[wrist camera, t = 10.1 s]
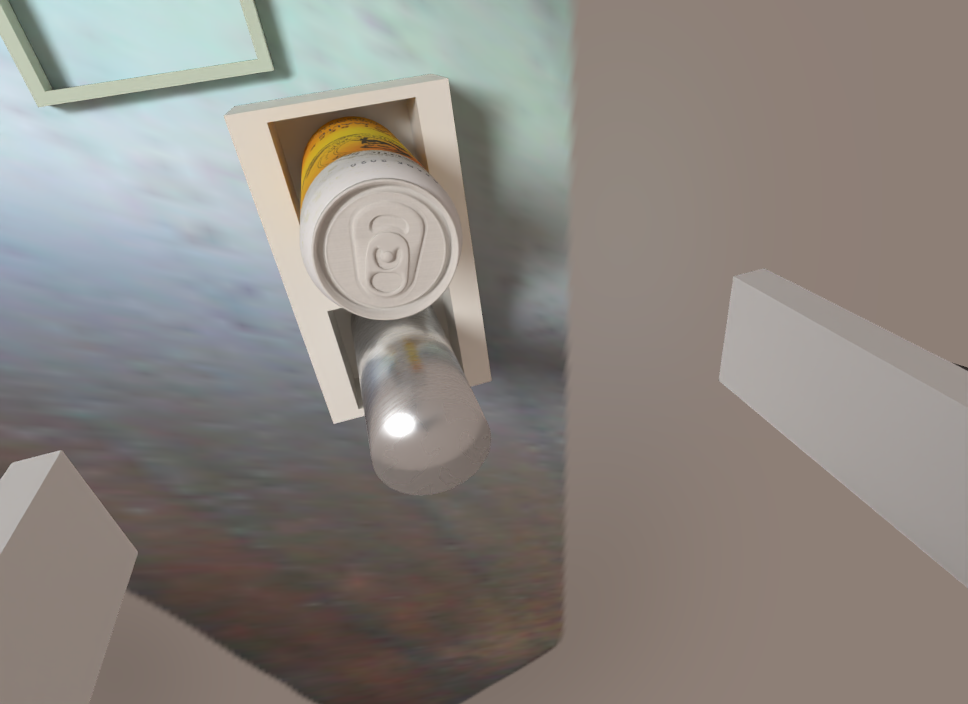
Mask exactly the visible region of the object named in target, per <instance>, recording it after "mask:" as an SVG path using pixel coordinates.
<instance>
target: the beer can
mask: <svg viewBox="0 0 968 704" xmlns="http://www.w3.org/2000/svg"><path fill="white" fill-rule="evenodd" d="M300 250H301V256H302V259H303V263H304V266H305V268H306V270H307V273H308V274H309V276H310V278H311V280H312V281H313V283H314V284H315V285H316V287H317V288H318V289H319V290H320V291H321V292H322V293H323V294H324V295H325V296H326V297H327V298H328V299H330V300H331V301H332V302H334V303H335V304H337V305H338V306H340V307H342V308H344V309H346V310H348V311H349V312H351V313H353V314H356V315H358V316H361V317H365V318H368V319H374V320H396V319H402V318H405V317H409V316H412V315H414V314H417V313H419V312H421V311H423V310H424V309H426V308H427V307H429V306H430V305H432V304H433V303H434V302H435V301H436V300H437V299H438V298H439V297H440V296H441V295H442V294H443V293H444V292H445V290H446V289H447V288H448V286H449V284H450V283H451V281H452V279H453V277H454V274H455V271H456V269H457V266H458V263H459V260H460V256H461V251H462V227H461V222H460V218H459V215H458V212H457V209H456V207H455V205H454V203H453V201H452V200H451V198H450V197H449V195H448V194H447V192H446V191H445V190H444V189H443V188H442V186H441V185H440V184H439V183H438V182H437V181H436V180H435V179H434V178H433V177H432V176H431V175H430V173H429V172H428V171H427V170H426V169H425V168H424V167H423V166H422V165H421V164H420V163H419V162H418V161H417V159H416V158H415V157H414V156H413V155H412V154H411V153H410V152H409V151H408V150H407V149H406V148H405V147H404V145H403V144H402V143H401V142H400V141H399V140H398V139H397V138H396V137H395V136H394V135H393V134H392V133H391V132H390V131H389V130H388V129H387V128H385V127H384V126H383V125H381V124H379V123H378V122H375V121H373V120H371V119H367V118H364V117H357V116H347V117H341V118H337V119H334V120H332V121H329V122H327V123H326V124H324V125H323V126H321V127H320V128H319V129H318V130H317V131H316V132H315V133H314V134H313V135H312V137H311V138H310V140H309V141H308V143H307V145H306V147H305V150H304V153H303V158H302V171H301V204H300Z"/></svg>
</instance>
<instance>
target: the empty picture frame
mask: <svg viewBox="0 0 968 704" xmlns="http://www.w3.org/2000/svg"><path fill="white" fill-rule="evenodd" d="M240 3H241V6H242V10H243V13H244V16H245V19H246V23H247V26H248V29H249V32H250V35H251V39H252V42H253V45H254V48H255V52H256V55H257V58H258V59H255V60H248V61H242V62H235V63H228V64H222V65H215V66H208V67H202V68H195V69H189V70H182V71H175V72H169V73H162V74H156V75H149V76H142V77H136V78H129V79H123V80H116V81H109V82H103V83H96V84H90V85H83V86H76V87H70V88H63V89H56V90H53V89H52V87H51V85H50V83H49V81H48V79H47V77H46V75H45V73H44V71H43V69H42V67H41V65H40V63H39V61H38V59H37V57H36V55H35V53H34V51H33V49H32V47H31V45H30V43H29V41H28V39H27V37H26V35H25V33H24V31H23V29H22V27H21V25H20V23H19V21H18V19H17V17H16V15H15V13H14V11H13V9H12V7H11V5H10V3H9V2H8V0H0V35H1V37H2V39H3V41H4V43H5V45H6V47H7V49H8V51H9V52H10V54H11V56H12V58H13V60H14V62H15V64H16V66H17V68H18V70H19V71H20V73H21V75H22V77H23V79H24V81H25V83H26V85H27V87H28V89H29V90H30V92H31V94H32V96H33V98H34V100H35V102H36V104H37V106H38V107H43V106H49V105H56V104H62V103H68V102H75V101H81V100H88V99H94V98H101V97H107V96H113V95H120V94H126V93H133V92H139V91H146V90H152V89H158V88H165V87H171V86H178V85H184V84H191V83H197V82H203V81H210V80H216V79H223V78H229V77H235V76H242V75H248V74H255V73H261V72H268V71H274V70H275V69H274V66H273V62H272V59H271V56H270V52H269V49H268V46H267V42H266V39H265V35H264V32H263V29H262V25H261V22H260V19H259V15H258V12H257V9H256V5H255V2H254V0H240Z"/></svg>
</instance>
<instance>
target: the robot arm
mask: <svg viewBox="0 0 968 704" xmlns="http://www.w3.org/2000/svg"><path fill="white" fill-rule="evenodd" d="M719 381H720V382H721V383H722V384H723V385H725V386H726V387H727V388H728V389H729V390H731V391H732V392H733V393H734V394H735V395H736V396H738V397H739V398H740V399H741V400H742V401H744V402H745V403H746V404H747V405H749V406H750V407H751V408H752V409H753V410H755V411H756V412H757V413H758V414H759V415H761V416H762V417H763V418H764V419H765V420H766V421H768V422H769V423H770V424H771V425H772V426H774V427H775V428H776V429H778V430H779V431H780V432H781V433H782V434H783V435H785V436H786V437H787V438H788V439H789V440H791V441H792V442H793V443H794V444H795V445H797V446H798V447H799V448H800V449H801V450H802V451H804V452H805V453H806V454H807V455H808V456H810V457H811V458H812V459H813V460H814V461H816V462H817V463H818V464H819V465H820V466H822V467H823V468H824V469H825V470H827V471H828V472H829V473H830V474H831V475H832V476H834V477H835V478H836V479H837V480H838V481H840V482H841V483H842V484H843V485H845V486H846V487H847V488H848V489H849V490H850V491H852V492H853V493H854V494H855V495H857V496H858V497H859V498H860V499H861V500H862V501H864V502H865V503H866V504H867V505H869V506H870V507H871V508H872V509H873V510H874V511H876V512H877V513H878V514H879V515H881V516H882V517H883V518H884V519H885V520H887V521H888V522H889V523H890V524H891V525H893V526H894V527H895V528H896V529H897V530H899V531H900V532H901V533H902V534H903V535H905V536H906V537H907V538H908V539H909V540H911V541H912V542H913V543H914V544H915V545H916V546H918V547H919V548H920V549H921V550H922V551H924V552H925V553H926V554H927V555H928V556H930V557H931V558H932V559H933V560H934V561H936V562H937V563H938V564H939V565H940V566H942V567H943V568H945V570H946V571H948V572H949V573H950V574H951V575H953V576H954V577H955V578H956V579H957V580H959V581H960V582H961V583H962V584H963V585H965V586H966V587H967V588H968V368H967V367H964V366H961V365H957V364H954V363H951V362H949V361H947V360H945V359H943V358H941V357H939V356H937V355H935V354H933V353H931V352H929V351H927V350H925V349H923V348H921V347H919V346H917V345H915V344H913V343H911V342H909V341H908V340H906V339H904V338H902V337H900V336H898V335H896V334H894V333H892V332H890V331H888V330H886V329H884V328H882V327H880V326H878V325H876V324H874V323H872V322H870V321H868V320H866V319H864V318H862V317H860V316H858V315H856V314H854V313H852V312H850V311H848V310H846V309H844V308H842V307H840V306H838V305H836V304H834V303H832V302H830V301H828V300H826V299H824V298H822V297H820V296H818V295H816V294H814V293H812V292H811V291H809V290H807V289H805V288H803V287H800V286H799V285H797V284H795V283H793V282H791V281H789V280H787V279H785V278H783V277H781V276H779V275H777V274H775V273H773V272H771V271H769V270H767V269H765V268H763V269H759V270H756V271H752V272H748V273H744V274H740V275H737V276H734V277H733V283H732V290H731V297H730V305H729V311H728V318H727V326H726V332H725V339H724V346H723V353H722V360H721V367H720V374H719ZM137 554H138V552H137V550H136V549H135V548H134V546H133V545H132V544H131V542H130V541H129V540H128V538H127V537H126V536H125V534H124V533H123V532H122V530H121V529H120V527H119V526H118V525H117V523H116V522H115V521H114V519H113V518H112V517H111V515H110V514H109V513H108V511H107V510H106V509H105V507H104V506H103V505H102V503H101V502H100V501H99V499H98V498H97V497H96V495H95V494H94V493H93V491H92V490H91V489H90V487H89V486H88V485H87V483H86V482H85V481H84V479H83V478H82V477H81V475H80V474H79V473H78V471H77V470H76V469H75V467H74V466H73V465H72V463H71V462H70V461H69V459H68V458H67V457H66V455H65V454H64V453H63V451H62V450H60V451H56V452H52V453H48V454H44V455H41V456H37V457H33V458H29V459H25V460H21V461H17V462H14V463H12V464H11V465H10V466H9V468H8V469H7V471H6V472H5V474H4V475H3V477H2V478H1V480H0V704H89V702H90V699H91V696H92V693H93V690H94V687H95V684H96V681H97V678H98V674H99V671H100V668H101V665H102V662H103V659H104V656H105V653H106V650H107V647H108V644H109V640H110V637H111V634H112V631H113V628H114V625H115V622H116V619H117V616H118V613H119V610H120V606H121V603H122V600H123V597H124V594H125V591H126V588H127V585H128V582H129V579H130V576H131V572H132V569H133V566H134V563H135V560H136V557H137Z"/></svg>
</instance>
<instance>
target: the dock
mask: <svg viewBox="0 0 968 704" xmlns="http://www.w3.org/2000/svg"><path fill="white" fill-rule="evenodd" d="M347 116H357V117H364V118H367V119H371V120H373V121H375V122H378V123H379V124H381V125H383V126H384V127H385V128H387V129H388V130H389V131H390V132H391V133H392V134H393V135H394V136H395V137H396V138H397V139H398V140H399V141H400V142H401V143H402V144H403V145H404V147H405V148H406V149H407V150H408V151H409V152H410V153H411V154H412V155H413V156H414V157H415V158H416V159H417V161H418V162H419V163H420V164H421V165H422V166H423V167H424V168H425V169H426V170H427V171H428V172H429V173H430V175H431V176H432V177H433V178H434V179H435V180H436V181H437V182H438V183H439V184H440V185H441V186H442V188H443V189H444V190H445V191H446V192H447V194H448V195H449V197H450V198H451V200H452V201H453V203H454V205H455V207H456V209H457V212H458V215H459V218H460V222H461V227H462V251H461V256H460V260H459V263H458V266H457V269H456V271H455V274H454V277H453V279H452V281H451V283H450V284H449V286H448V288H447V289H446V290H445V292H444V293H443V294H442V295H441V296H440V297H439V298H438V299H437V300H436V301H435V302H434V303H433V304H432V307H433V309H434V311H435V313H436V316H437V318H438V320H439V322H440V324H441V326H442V328H443V330H444V332H445V334H446V337H447V339H448V341H449V343H450V345H451V347H452V349H453V351H454V353H455V356H456V358H457V360H458V362H459V364H460V366H461V368H462V370H463V372H464V375H465V377H466V379H467V381H468V383H469V385H470V387H471V386H475V385H478V384H482V383H486V382H489V381H492V380H491V373H490V366H489V359H488V352H487V345H486V338H485V331H484V324H483V317H482V311H481V304H480V297H479V290H478V283H477V276H476V269H475V262H474V255H473V248H472V241H471V234H470V227H469V220H468V213H467V206H466V199H465V192H464V186H463V179H462V172H461V165H460V158H459V151H458V144H457V137H456V130H455V123H454V116H453V109H452V102H451V95H450V88H449V81H448V78H445V77H441V76H438V75H434V74H427V75H421V76H414V77H408V78H402V79H396V80H390V81H384V82H378V83H372V84H366V85H360V86H354V87H348V88H342V89H336V90H330V91H323V92H317V93H311V94H305V95H299V96H293V97H287V98H281V99H275V100H269V101H263V102H257V103H251V104H245V105H239V106H234V107H233V108H232V109H231V110H230V111H228V112H227V113H226V114H225V115H224V118H225V121H226V124H227V127H228V130H229V132H230V135H231V138H232V141H233V144H234V146H235V149H236V152H237V155H238V158H239V160H240V163H241V166H242V169H243V171H244V174H245V177H246V180H247V183H248V185H249V188H250V191H251V194H252V197H253V199H254V202H255V205H256V208H257V211H258V213H259V216H260V219H261V222H262V225H263V227H264V230H265V233H266V236H267V239H268V241H269V244H270V247H271V250H272V253H273V255H274V258H275V261H276V264H277V267H278V269H279V272H280V275H281V278H282V280H283V283H284V286H285V289H286V292H287V294H288V297H289V300H290V303H291V306H292V308H293V311H294V314H295V317H296V320H297V322H298V325H299V328H300V331H301V334H302V336H303V339H304V342H305V345H306V348H307V350H308V353H309V356H310V359H311V362H312V364H313V367H314V370H315V373H316V376H317V378H318V381H319V384H320V387H321V389H322V392H323V395H324V398H325V401H326V403H327V406H328V409H329V412H330V415H331V417H332V420H333V423H334V424H335V423H339V422H342V421H346V420H350V419H353V418H357V417H361V416H364V415H365V413H364V407H363V400H362V394H361V388H360V381H359V375H358V368H357V362H356V355H355V349H354V343H353V336H352V330H351V316H352V313H351V312H349V311H348V310H346V309H344V308H342V307H340V306H338V305H337V304H335V303H334V302H332V301H331V300H330V299H328V298H327V297H326V296H325V295H324V294H323V293H322V292H321V291H320V290H319V289H318V288H317V287H316V285H315V284H314V283H313V281H312V280H311V278H310V276H309V274H308V273H307V270H306V268H305V266H304V263H303V259H302V256H301V250H300V204H301V171H302V158H303V153H304V150H305V147H306V145H307V143H308V141H309V140H310V138H311V137H312V135H313V134H314V133H315V132H316V131H317V130H318V129H319V128H320V127H321V126H323V125H324V124H326V123H327V122H329V121H332V120H334V119H337V118H341V117H347Z"/></svg>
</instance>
